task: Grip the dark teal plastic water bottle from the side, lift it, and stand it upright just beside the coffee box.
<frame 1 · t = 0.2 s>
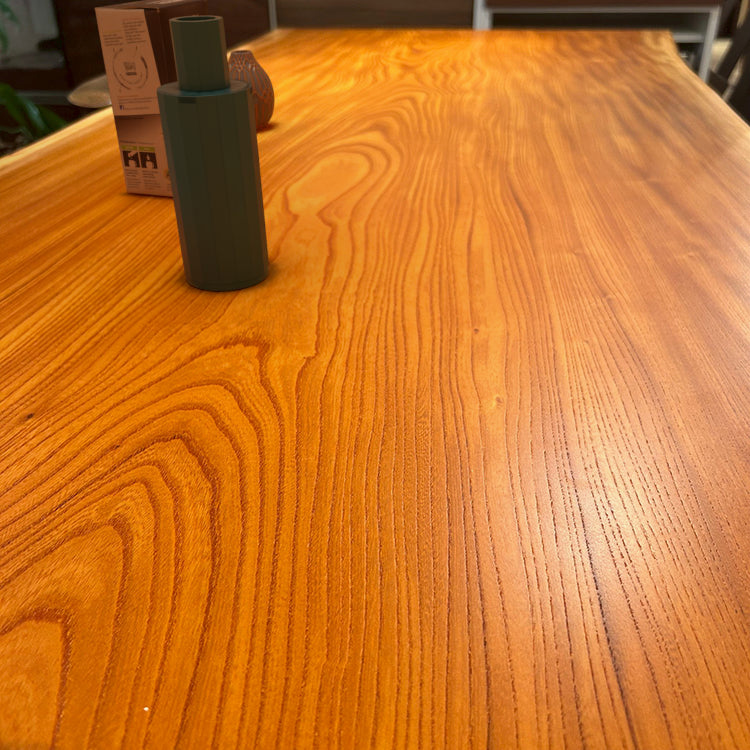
bottle: (227, 274, 56), on the table
coffee box: (179, 184, 76), on the table
vase: (248, 129, 96), on the table
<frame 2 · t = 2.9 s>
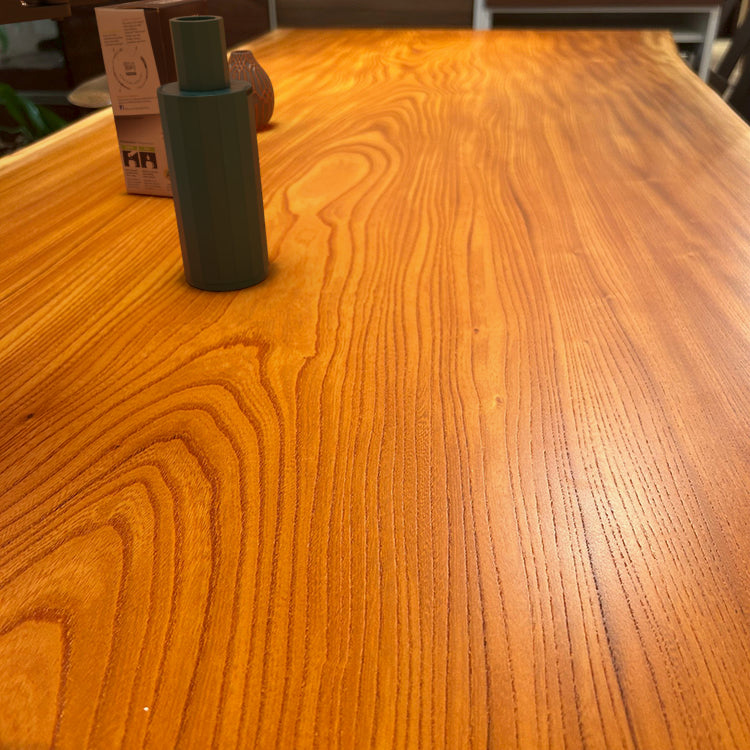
nothing on the table moved.
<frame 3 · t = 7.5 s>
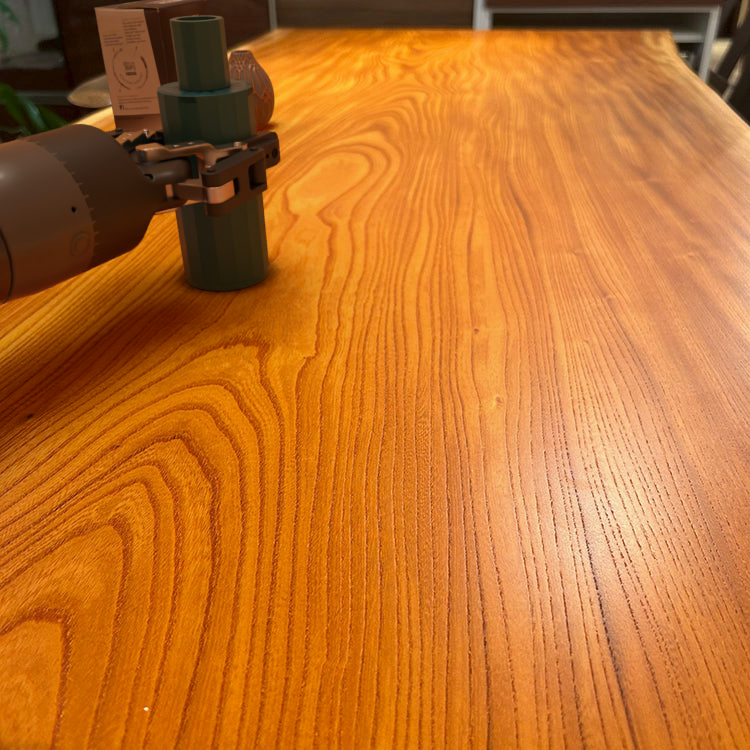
hand: (234, 141, 53), 9 cm above the table, tool horizontal, fingers closed on bottle, 6 cm apart
bottle: (227, 274, 56), on the table, touching gripper
everything else where it was.
when the fingers open (9 cm above the table, at t = 14.4 s): bottle stays where it is, on the table.
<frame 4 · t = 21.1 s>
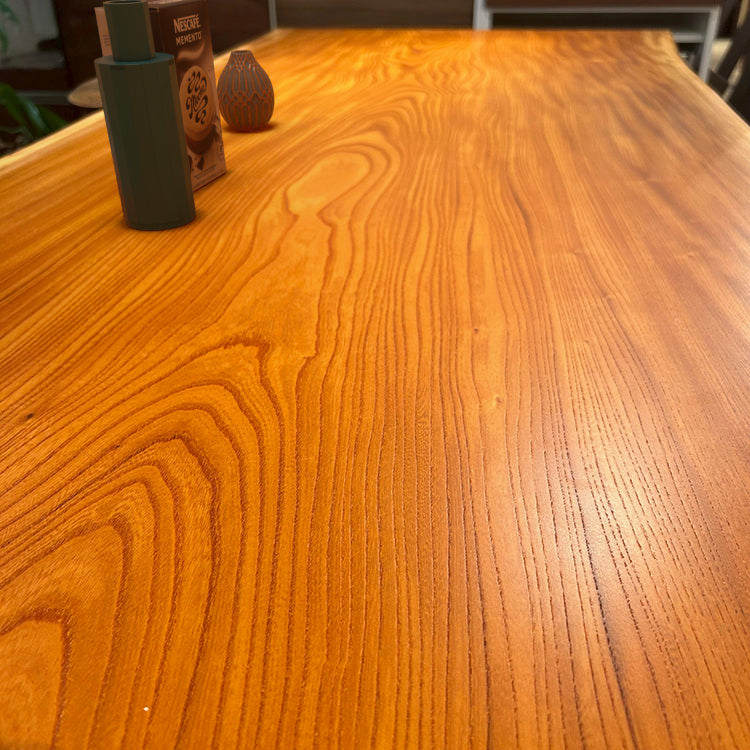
bottle: (161, 218, 67), on the table
everything else where it was.
at the end: bottle inside the target area on the table beside the coffee box (0.1 cm from its centre), on the table; bottle tilted 0°; the gripper is holding nothing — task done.
